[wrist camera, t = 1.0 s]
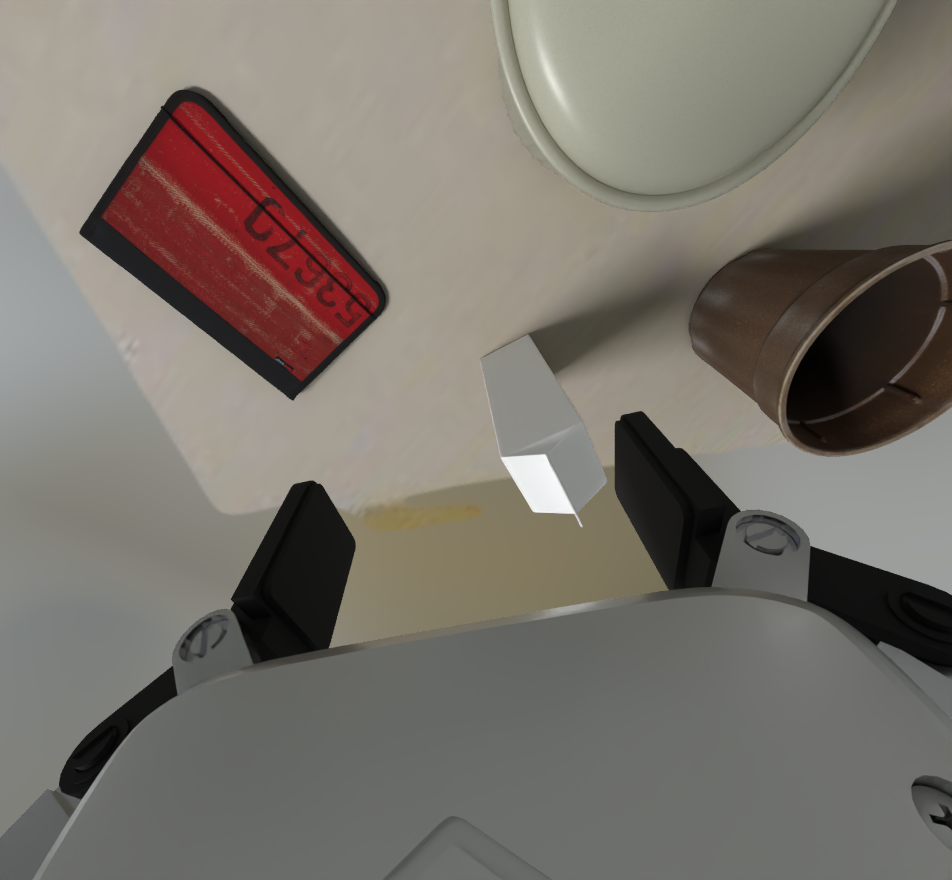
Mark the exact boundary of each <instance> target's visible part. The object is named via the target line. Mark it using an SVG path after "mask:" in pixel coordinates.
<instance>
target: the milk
mask: <svg viewBox="0 0 952 880" xmlns="http://www.w3.org/2000/svg"><path fill="white" fill-rule="evenodd" d="M480 364H481V368H482V373H483V378H484V382H485V387H486V392H487V396H488V401H489V406H490V410H491V415H492V420H493V424H494V429H495V434H496V438H497V443H498V448H499V452H500V457H501V459H502V461H503V462H504V464H505V466H506V467H507V469H508V471H509V472H510V474H511V476H512V477H513V479H514V481H515V482H516V484H517V486H518V487H519V489H520V491H521V492H522V494H523V496H524V497H525V499H526V501H527V502H528V504H529V506H530V507H531V509H532V511H534V512H542V513H569V514H570V513H571V514H575V516H576V518H577V520H578V522H579V524H580V526H581V527H583V526H582V523H581V521H580V519H579V516H578V512H579V511H580V510H581V509H582V508H583V507H584V506H585V505H586V503H587V502H588V501H589V500H590V499H591V498H592V497H593V496H594V495H595V494H596V493H597V492H598V491H599V490H600V489H601V488H602V487H603V486H604V485H605V484H606V483H607V479H606V476H605V474H604V471H603V469H602V466H601V464H600V462H599V459H598V457H597V454H596V452H595V449H594V447H593V444H592V442H591V439H590V437H589V435H588V432H587V430H586V427H585V425H584V422H583V420H582V419H581V417H580V415H579V414H578V412H577V411H576V409H575V407H574V406H573V404H572V403H571V401H570V399H569V398H568V396H567V395H566V393H565V392H564V390H563V388H562V387H561V385H560V384H559V382H558V380H557V379H556V377H555V376H554V374H553V372H552V371H551V369H550V368H549V366H548V364H547V363H546V361H545V360H544V358H543V357H542V355H541V353H540V352H539V350H538V349H537V347H536V345H535V344H534V342H533V341H532V339H531V337H530V336H529V334H527V335H525V336H523V337H521V338H519V339H518V340H516V341H514V342H512V343H510V344H508V345H506V346H504V347H502V348H500V349H498V350H496V351H494V352H493V353H491V354H489V355H487V356H485V357H483V358H481V359H480Z"/></svg>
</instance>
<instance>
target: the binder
mask: <svg viewBox="0 0 952 880" xmlns="http://www.w3.org/2000/svg"><path fill="white" fill-rule="evenodd" d="M79 233H80V235H81V236H83V237H84V238H85V239H86V240H88V241H89V242H90V243H92V244H93V245H94V246H96V247H97V248H98V249H99V250H101V251H102V252H103V253H104V254H106V255H107V256H108V257H110V258H111V259H112V260H113V261H115V262H116V263H117V264H118V265H120V266H121V267H123V268H124V269H125V270H127V271H128V272H129V273H130V274H132V275H133V276H134V277H136V278H137V279H138V280H139V281H141V282H142V283H143V284H144V285H146V286H147V287H148V288H149V289H151V290H152V291H153V292H155V293H156V294H157V295H158V296H160V297H161V298H162V299H164V300H165V301H166V302H167V303H169V304H170V305H171V306H172V307H174V308H175V309H176V310H177V311H179V312H180V313H181V314H183V315H184V316H185V317H187V318H188V319H189V320H190V321H192V322H193V323H194V324H195V325H197V326H198V327H199V328H200V329H202V330H203V331H204V332H206V333H207V334H208V335H210V336H211V337H212V338H213V339H215V340H216V341H217V342H218V343H220V344H221V345H222V346H223V347H225V348H226V349H227V350H229V351H230V352H231V353H233V354H234V355H235V356H236V357H238V358H239V359H240V360H242V361H243V362H244V363H245V364H246V365H248V366H249V367H250V368H251V369H253V370H254V371H255V372H257V373H258V374H259V375H260V376H262V377H263V378H264V379H265V380H267V381H268V382H269V383H271V384H272V385H273V386H275V387H276V388H277V389H278V390H280V391H281V392H282V393H284V394H285V395H286V396H287V397H288V398H289V399H291V400H294V399H295V397H296V396H297V395H298V394H299V393H300V392H301V391H302V390H303V389H304V388H305V387H306V386H307V385H308V384H310V383H311V382H312V381H313V380H314V379H315V378H316V377H317V376H318V375H319V374H320V373H321V372H322V371H323V370H324V369H325V368H326V367H327V366H328V365H329V364H330V363H331V362H332V361H333V360H334V359H335V358H336V357H337V356H338V355H339V354H340V353H341V352H342V351H343V350H344V349H345V348H346V347H347V346H348V345H349V344H350V343H351V342H352V341H353V340H355V339H356V338H357V337H358V336H359V335H360V334H361V333H362V332H363V331H364V330H365V329H366V328H367V327H368V326H369V325H370V324H371V323H372V322H373V321H374V320H376V318H377V317H378V316H379V315H380V314H381V312H382V311H383V309H384V306H385V294H384V292H383V290H382V288H381V286H380V285H379V284H378V283H377V282H376V281H375V280H374V279H373V278H372V277H371V276H370V275H369V274H368V273H367V272H366V271H365V270H364V269H363V268H362V267H361V266H360V265H359V264H358V263H357V262H356V260H355V259H354V258H353V257H352V256H351V255H350V254H349V253H348V252H347V251H346V249H345V248H344V247H343V246H342V245H341V244H340V243H339V242H338V241H337V240H336V239H335V238H334V237H333V235H332V234H331V233H330V232H329V231H328V230H327V229H326V228H325V227H324V226H323V225H322V224H321V222H320V221H319V220H318V219H317V218H316V217H315V216H314V215H313V214H312V212H311V211H310V210H309V209H308V208H307V207H306V206H305V205H304V204H303V203H302V202H301V201H300V200H299V199H298V197H297V196H296V195H295V194H294V193H293V192H292V191H291V190H290V189H289V188H288V186H287V185H286V184H285V183H284V182H283V181H282V180H281V179H280V178H279V177H278V176H277V175H276V174H275V173H274V171H273V170H272V169H271V168H270V167H269V166H268V165H267V164H266V163H265V162H264V161H263V160H262V158H261V157H260V156H259V155H258V154H257V153H256V152H255V151H254V150H253V149H252V148H251V146H250V145H249V144H248V143H247V142H246V141H245V140H244V139H243V138H242V137H241V136H240V135H239V133H238V132H237V131H236V130H235V129H234V128H233V127H232V126H231V125H230V123H229V122H228V121H227V119H226V118H225V117H224V116H223V115H222V113H221V112H220V111H219V110H218V109H217V108H216V107H215V106H214V105H213V104H212V103H211V102H210V101H209V100H208V99H206V98H205V97H204V96H202V95H200V94H198V93H195V92H192V91H189V90H179V91H176V92H174V93H173V94H172V95H171V96H170V97H169V99H168V100H167V101H166V103H165V105H164V106H161V110H160V112H159V113H158V114H157V116H156V117H155V119H154V120H153V122H152V123H151V125H150V126H149V128H148V129H147V131H146V132H145V134H144V135H143V137H142V138H141V140H140V141H139V143H138V144H137V146H136V147H135V148H134V150H133V151H132V153H131V154H130V156H129V157H128V158H127V160H126V161H125V163H124V164H123V166H122V167H121V169H120V170H119V172H118V173H117V175H116V176H115V178H114V179H113V181H112V182H111V184H110V185H109V187H108V188H107V190H106V191H105V193H104V194H103V196H102V197H101V199H100V201H99V202H98V204H97V205H96V207H95V208H94V210H93V211H92V213H91V214H90V216H89V217H88V219H87V220H86V222H85V223H84V225H83V226H82V228H81V230H80V232H79Z"/></svg>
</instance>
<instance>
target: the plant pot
mask: <svg viewBox="0 0 952 880" xmlns="http://www.w3.org/2000/svg"><path fill="white" fill-rule="evenodd" d="M689 333H690V336H691V341H692V348H693V350H694V351H695V353H696V354H697V355H698V356H699V357H700V358H701V359H702V360H704V361H705V362H706V363H708V364H709V365H710V366H712V367H713V368H714V369H715V370H717V371H718V372H719V373H720V374H722V375H723V376H724V377H725V378H727V379H728V380H729V381H731V382H732V383H733V384H734V385H736V386H737V387H738V388H739V389H740V390H742V391H743V392H744V393H745V394H747V395H748V396H749V397H750V398H752V399H753V400H754V401H755V402H757V403H758V405H759V407H760V409H761V410H762V411H763V412H764V413H765V414H766V415H767V416H768V417H769V418H770V419H771V420H773V421H774V422H775V423H776V424H777V425H778V426H779V428H780V430H781V432H782V434H783V435H784V437H785V438H786V439H787V440H788V441H789V442H790V443H791V444H792V445H794V446H795V447H796V448H798V449H800V450H802V451H804V452H807V453H810V454H814V455H818V456H826V457H840V456H847V455H854V454H859V453H863V452H866V451H870V450H873V449H876V448H879V447H882V446H884V445H887V444H889V443H892V442H894V441H896V440H899V439H901V438H903V437H905V436H907V435H909V434H911V433H912V432H914V431H916V430H918V429H920V428H921V427H923V426H925V425H926V424H928V423H930V422H931V421H933V420H934V419H935V418H937V417H938V416H940V415H941V414H943V413H944V412H946V411H947V410H948V409H950V408H951V407H952V240H947V241H943V242H939V243H936V244H932V245H900V246H891V247H886V248H881V249H878V250H789V249H762V250H757V251H753V252H750V253H748V254H747V255H746V256H744V257H742V258H740V259H738V260H736V261H734V262H732V263H729V264H728V265H726V266H725V267H724V268H722V269H721V270H720V271H719V272H718V273H717V274H716V275H715V276H714V277H713V278H712V279H711V280H710V282H709V283H708V284H707V285H706V287H705V288H704V289H703V291H702V292H701V294H700V296H699V298H698V299H697V301H696V303H695V306H694V308H693V311H692V314H691V317H690V322H689Z"/></svg>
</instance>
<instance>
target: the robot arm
mask: <svg viewBox="0 0 952 880" xmlns="http://www.w3.org/2000/svg"><path fill="white" fill-rule="evenodd" d="M615 491H616V495H617V497H618V499H619V501H620V503H621V504H622V506H623V508H624V510H625V512H626V514H627V515H628V517H629V519H630V521H631V523H632V525H633V526H634V528H635V530H636V532H637V534H638V535H639V537H640V539H641V541H642V543H643V544H644V546H645V548H646V550H647V551H648V553H649V555H650V557H651V559H652V561H653V563H654V564H655V566H656V568H657V570H658V571H659V573H660V575H661V577H662V579H663V581H664V582H665V584H666V586H667V588H668V589H669V590H668V591H659V592H653V593H647V594H640V595H634V596H627V597H621V598H614V599H608V600H601V601H595V602H589V603H584V604H578V605H573V606H566V607H560V608H555V609H548V610H543V611H537V612H531V613H526V614H520V615H513V616H508V617H502V618H496V619H490V620H485V621H480V622H474V623H468V624H462V625H456V626H451V627H445V628H440V629H434V630H429V631H422V632H417V633H411V634H406V635H400V636H395V637H389V638H384V639H378V640H373V641H367V642H362V643H356V644H351V645H345V646H340V647H335V648H329V646H330V642H331V638H332V635H333V631H334V627H335V623H336V619H337V616H338V612H339V608H340V605H341V601H342V597H343V593H344V590H345V586H346V582H347V578H348V574H349V571H350V567H351V564H352V559H353V556H354V552H355V547H356V546H355V540H354V538H353V536H352V534H351V532H350V531H349V529H348V527H347V526H346V524H345V522H344V521H343V519H342V517H341V516H340V514H339V512H338V511H337V509H336V507H335V506H334V504H333V502H332V501H331V499H330V498H329V496H328V494H327V493H326V491H325V489H324V488H323V486H322V485H321V484H317V483H316V482H315V481H306V482H302V483H297V484H294V485H293V486H292V487H291V489H290V491H289V493H288V494H287V496H286V498H285V500H284V502H283V504H282V506H281V507H280V509H279V511H278V513H277V515H276V517H275V518H274V521H273V522H272V524H271V526H270V528H269V530H268V531H267V533H266V535H265V537H264V539H263V541H262V542H261V544H260V546H259V548H258V550H257V552H256V554H255V556H254V557H253V559H252V561H251V563H250V565H249V566H248V569H247V571H246V572H245V574H244V576H243V578H242V579H241V581H240V583H239V585H238V587H237V589H236V590H235V592H234V594H233V596H232V598H231V600H232V601H233V602H234V604H233V606H232V608H231V610H228V609H220V610H216V611H213V612H211V613H209V614H207V615H205V616H204V617H202V618H200V619H199V620H198V621H196V622H195V623H194V624H193V625H192V626H191V627H190V628H189V629H188V630H187V631H186V632H185V633H184V634H183V635H182V637H181V638H180V640H179V641H178V643H177V644H176V647H175V649H174V651H173V657H172V663H173V666H172V667H171V668H169V669H168V670H167V671H166V672H164V673H163V674H162V675H160V676H159V677H158V678H157V679H156V680H154V681H153V682H152V683H150V684H149V685H148V686H147V687H146V688H144V689H143V690H142V691H140V692H139V693H138V694H137V695H135V696H134V697H133V698H132V699H130V700H129V701H128V702H127V703H125V704H124V705H123V706H122V707H120V708H119V709H118V710H117V711H115V712H114V713H113V714H112V715H110V716H109V717H108V718H107V719H105V720H104V721H103V722H101V724H99V725H98V726H97V727H96V728H94V729H93V730H92V731H91V732H90V733H89V734H88V735H87V736H86V737H85V738H84V739H83V740H82V741H81V743H80V744H79V745H78V746H77V747H76V748H75V750H74V751H73V753H72V754H71V756H70V757H69V759H68V760H67V762H66V764H65V766H64V768H63V770H62V773H61V777H60V781H59V787H58V788H57V789H56V790H55V791H53V790H49V789H47V790H46V791H45V792H44V793H43V794H42V795H41V796H40V797H39V798H38V799H37V800H36V801H35V802H34V803H33V805H32V806H31V807H30V808H29V809H28V810H27V811H26V812H25V813H24V814H23V815H22V816H21V817H20V818H19V819H18V820H17V821H16V822H15V823H14V824H13V825H12V826H11V827H10V828H9V829H8V830H7V831H6V832H5V834H3V836H2V837H1V838H0V880H952V595H950V594H949V593H947V592H945V591H942V590H939V589H937V588H935V587H932V586H930V585H927V584H924V583H921V582H918V581H915V580H912V579H909V578H906V577H903V576H900V575H897V574H894V573H891V572H888V571H884V570H882V569H879V568H875V567H872V566H869V565H866V564H863V563H860V562H857V561H854V560H851V559H848V558H845V557H842V556H839V555H836V554H833V553H830V552H827V551H824V550H820V549H818V548H815V547H812V546H810V542H809V538H808V536H807V535H806V533H805V532H804V530H803V529H801V528H800V527H799V526H798V525H797V524H796V523H794V522H793V521H791V520H789V519H787V518H785V517H784V516H781V515H778V514H775V513H772V512H768V511H762V510H746V511H742V512H741V511H740V510H739V509H738V508H737V507H736V506H735V504H734V503H733V502H732V501H731V500H730V499H729V498H728V497H727V496H726V495H725V494H724V492H723V491H722V490H721V489H720V488H719V487H718V486H717V485H716V484H715V483H714V482H713V480H711V478H710V477H709V476H708V475H707V474H706V473H705V472H704V471H703V470H702V468H701V467H700V466H699V465H698V464H697V463H696V462H695V461H694V460H693V459H692V458H691V456H690V455H689V454H688V453H687V452H686V451H685V450H683V449H681V448H675V447H674V446H673V445H672V444H671V443H670V442H669V440H668V439H667V438H666V437H665V436H664V435H663V434H662V433H661V431H660V430H659V429H658V428H657V427H656V426H655V425H654V424H653V422H652V421H651V420H650V419H649V418H648V417H647V416H646V415H645V413H643V412H642V411H639V412H634V413H630V414H625V415H622V416H621V418H620V420H619V421H616V422H615ZM328 648H329V649H328Z"/></svg>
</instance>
